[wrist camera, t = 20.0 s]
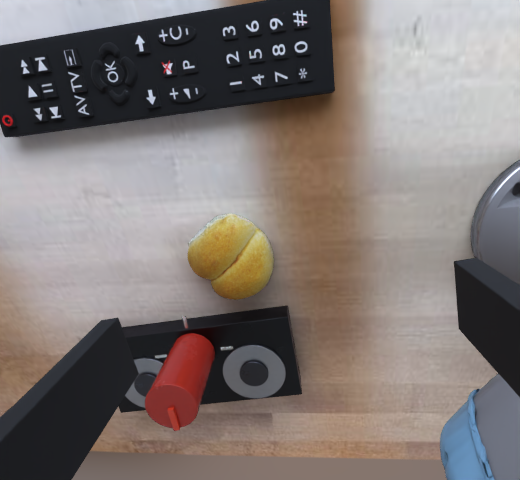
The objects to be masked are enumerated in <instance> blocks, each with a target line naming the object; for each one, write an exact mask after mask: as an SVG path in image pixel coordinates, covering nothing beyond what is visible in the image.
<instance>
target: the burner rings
mask: <svg viewBox="0 0 520 480" xmlns="http://www.w3.org/2000/svg"><path fill="white" fill-rule="evenodd" d="M134 362H135V365H136V367H137V370H138V373H139V374H138V376H137V378H136V379H135V381H134V382H133V384H132V385H131V387H130V389H129V390H128V392H127V393H126V395H125V396H126V397H127V398H128V399H129V400H130V401H131V402H133V403H134V404H136V405H138V406H141V407H144V408H145V398H146V395H147V393H148V391H149V389H150V388H151V386H152V384H153V382H154V380H155V378H156V376H157V374H158V372H159V370H160V369H161V367H162V365H163V363H164V362H162V361H160V360H158V359H155V358H150V357H141V358H136V359H134ZM285 375H286V370H285V365H284V363H283V361H282V359H281V357H280V356H279V355H278V354H277V353H276V352H275V351H273V350H272V349H270V348H268V347H266V346H262V345H257V344H248V345H243V346H240V347H238V348H236V349H234V350H233V351H232V352H230V354H229V355H228V356H227V357H226V359H225V361H224V365H223V376H224V379H225V381H226V383H227V384H228V386H229V387H230V388H231V389H232V390H233V391H234V392H236V393H237V394H239V395H242V396H244V397H248V398H264V397H268V396H270V395H272V394H274V393H275V392H277V391H278V390H279V389H280V388H281V386H282V385H283V383H284V380H285Z"/></svg>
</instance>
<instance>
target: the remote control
mask: <svg viewBox="0 0 520 480" xmlns="http://www.w3.org/2000/svg"><path fill="white" fill-rule="evenodd" d="M334 91H335V87H334V69H333V51H332V33H331V15H330V0H266V1H260V2H254V3H248V4H242V5H236V6H230V7H224V8H219V9H213V10H207V11H201V12H195V13H189V14H183V15H177V16H172V17H166V18H160V19H154V20H148V21H142V22H136V23H130V24H125V25H119V26H113V27H107V28H101V29H95V30H89V31H83V32H77V33H72V34H66V35H60V36H54V37H48V38H42V39H36V40H30V41H25V42H19V43H13V44H7V45H1V46H0V125H1V128H2V131H3V134H4V136H5V137H19V136H26V135H33V134H41V133H48V132H55V131H62V130H69V129H76V128H84V127H91V126H98V125H105V124H112V123H119V122H127V121H134V120H141V119H148V118H155V117H162V116H170V115H177V114H184V113H191V112H198V111H205V110H213V109H220V108H227V107H234V106H241V105H248V104H256V103H263V102H270V101H277V100H284V99H291V98H299V97H306V96H313V95H320V94H327V93H333V92H334Z"/></svg>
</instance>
